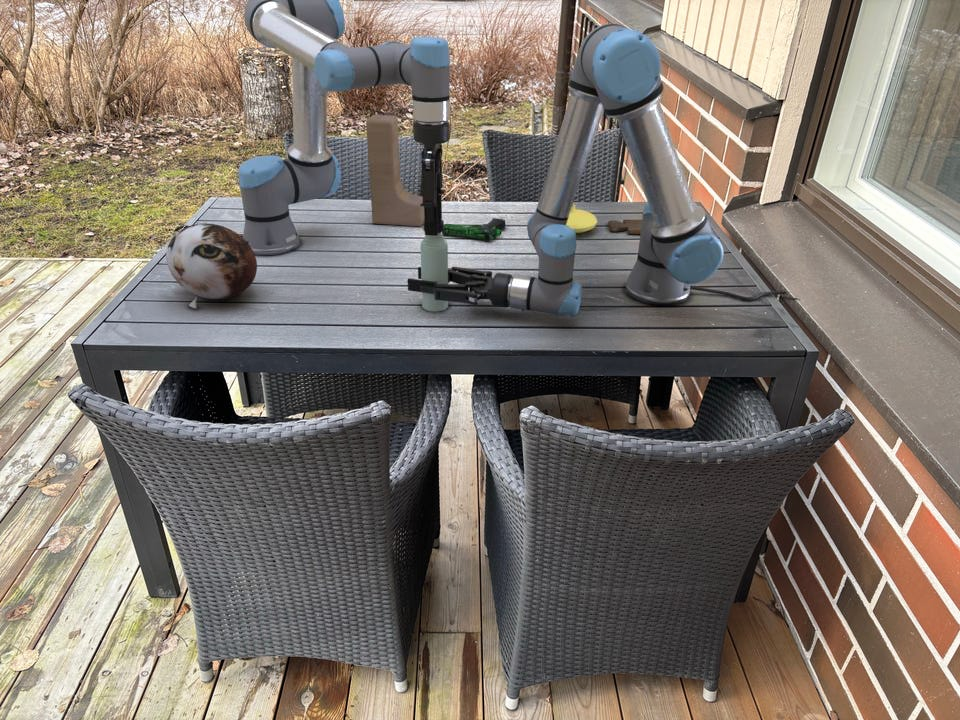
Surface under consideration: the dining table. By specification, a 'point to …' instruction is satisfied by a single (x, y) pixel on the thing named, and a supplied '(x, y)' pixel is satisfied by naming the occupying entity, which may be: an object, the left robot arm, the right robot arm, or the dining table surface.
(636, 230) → the dark wooden board
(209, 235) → the cat face balloon
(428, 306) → the bottle
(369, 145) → the decorative block
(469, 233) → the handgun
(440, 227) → the cap
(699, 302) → the dining table surface
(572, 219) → the yellow low dome
